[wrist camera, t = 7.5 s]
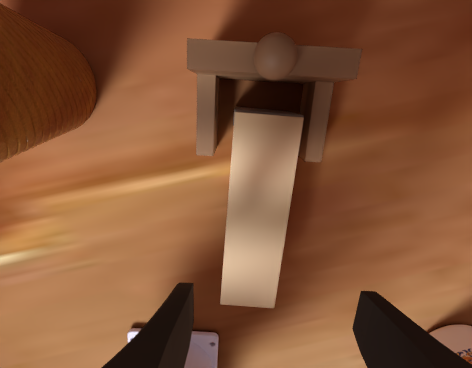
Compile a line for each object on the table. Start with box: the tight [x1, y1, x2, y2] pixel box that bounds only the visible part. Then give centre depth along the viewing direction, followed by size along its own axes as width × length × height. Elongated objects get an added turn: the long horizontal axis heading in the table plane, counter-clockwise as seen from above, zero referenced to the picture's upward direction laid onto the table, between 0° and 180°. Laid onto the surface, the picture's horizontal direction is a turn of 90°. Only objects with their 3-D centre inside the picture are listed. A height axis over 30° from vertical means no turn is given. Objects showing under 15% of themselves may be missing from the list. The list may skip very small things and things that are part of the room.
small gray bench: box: [187, 32, 362, 162], centre depth 14 cm, size 6×8×8 cm
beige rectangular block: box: [220, 106, 304, 308], centre depth 18 cm, size 12×4×5 cm, turn 175°
